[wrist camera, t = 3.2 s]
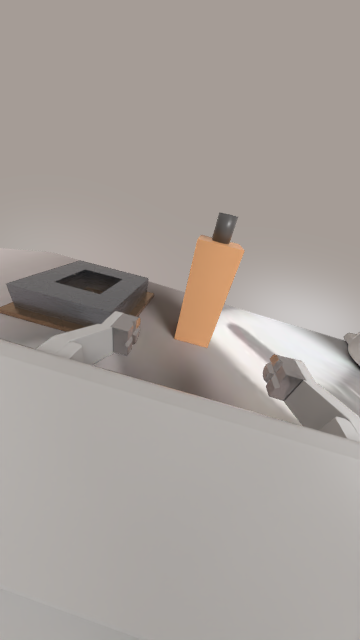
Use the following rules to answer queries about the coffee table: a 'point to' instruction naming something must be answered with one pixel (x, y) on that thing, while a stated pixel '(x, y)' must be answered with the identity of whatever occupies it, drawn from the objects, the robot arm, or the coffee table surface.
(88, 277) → the socket
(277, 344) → the coffee table surface
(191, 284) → the orange bottle
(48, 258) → the coffee table surface
